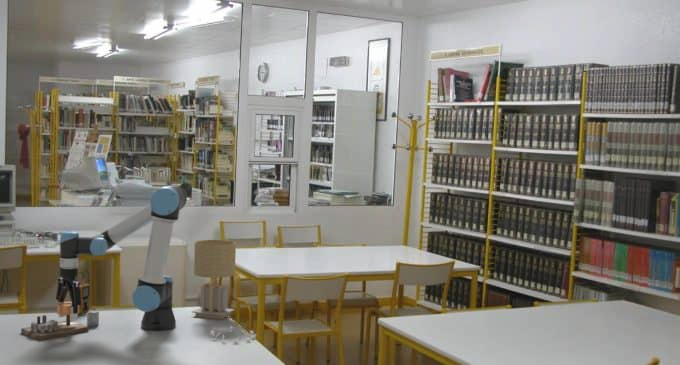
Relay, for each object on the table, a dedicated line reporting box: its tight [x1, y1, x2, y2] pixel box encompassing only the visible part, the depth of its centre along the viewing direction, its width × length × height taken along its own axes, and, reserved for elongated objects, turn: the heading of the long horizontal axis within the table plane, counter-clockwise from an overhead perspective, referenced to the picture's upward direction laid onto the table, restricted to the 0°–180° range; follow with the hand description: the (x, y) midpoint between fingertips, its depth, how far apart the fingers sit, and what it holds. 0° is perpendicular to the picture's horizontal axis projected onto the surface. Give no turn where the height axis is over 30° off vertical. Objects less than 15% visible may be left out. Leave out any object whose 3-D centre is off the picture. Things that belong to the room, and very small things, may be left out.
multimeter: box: [75, 269, 96, 317], centre depth 358 cm, size 15×10×20 cm
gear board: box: [20, 314, 90, 341], centre depth 322 cm, size 16×22×8 cm
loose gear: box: [56, 301, 80, 316], centre depth 326 cm, size 9×9×4 cm
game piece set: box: [209, 325, 258, 344], centre depth 322 cm, size 19×20×4 cm
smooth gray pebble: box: [86, 310, 100, 327], centre depth 336 cm, size 5×5×6 cm
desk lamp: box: [191, 239, 237, 320], centre depth 361 cm, size 20×20×35 cm
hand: (68, 318), depth 326 cm, fingers closed on loose gear, 9 cm apart
